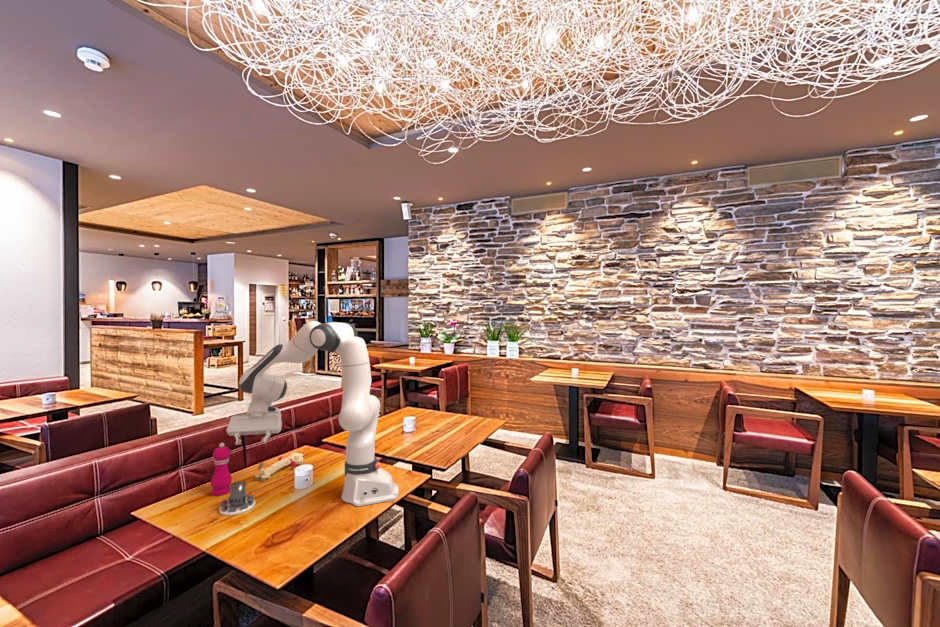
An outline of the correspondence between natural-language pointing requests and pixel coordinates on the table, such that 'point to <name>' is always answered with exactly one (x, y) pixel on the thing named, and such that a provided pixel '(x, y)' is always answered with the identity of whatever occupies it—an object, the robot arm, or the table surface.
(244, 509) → the castellated coaster
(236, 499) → the sleeve nut
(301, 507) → the table surface
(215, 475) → the pepper mill
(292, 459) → the cream dog bone
